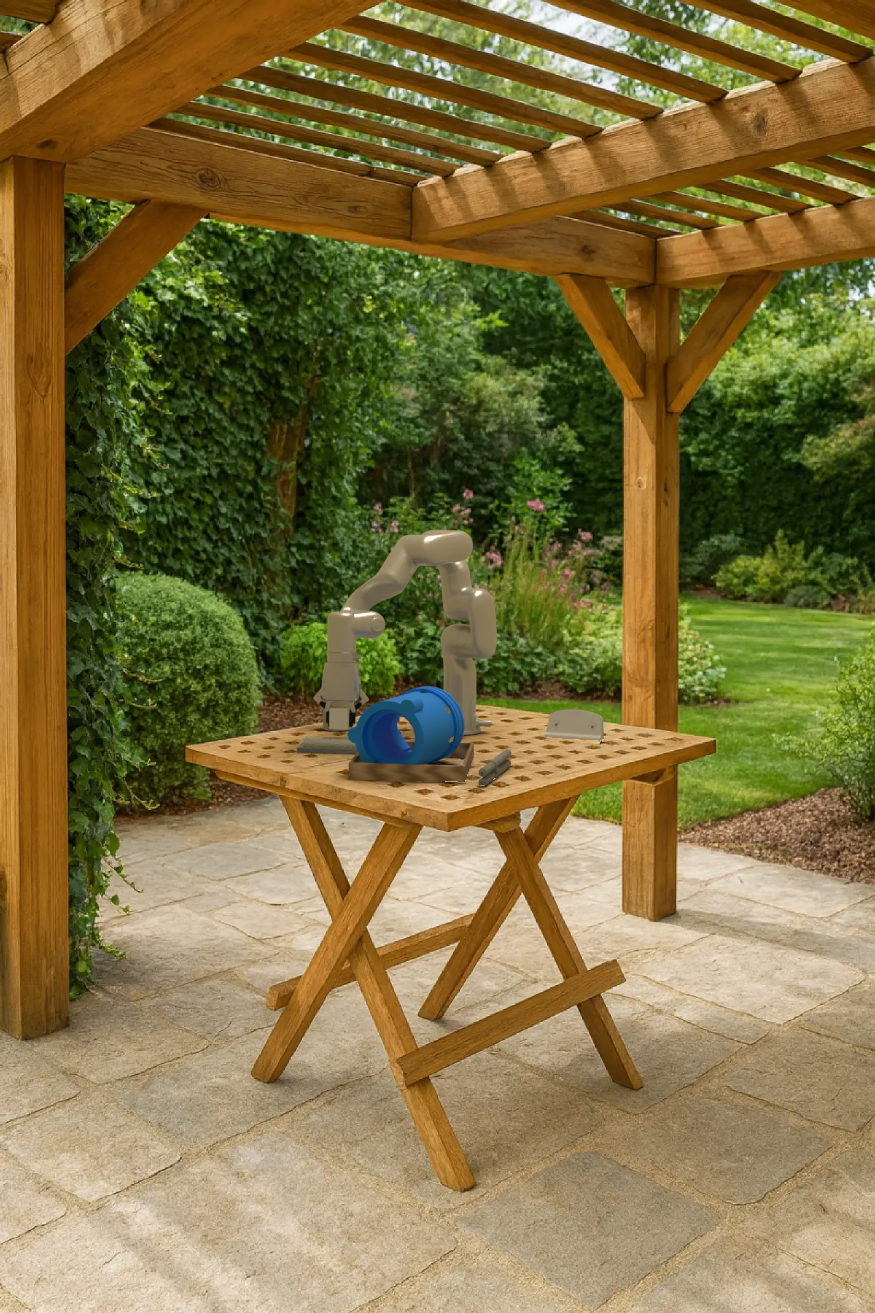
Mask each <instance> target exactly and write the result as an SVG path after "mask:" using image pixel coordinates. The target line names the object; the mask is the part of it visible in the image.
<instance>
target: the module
mask: <svg viewBox="0 0 875 1313" xmlns="http://www.w3.org/2000/svg"><path fill="white" fill-rule="evenodd" d="M350 710H351V709H350V706H342V705H333V706H332V707H331V708H330V709H329V729H346V730H347V731H349V730H348V726H349V713H350Z"/></svg>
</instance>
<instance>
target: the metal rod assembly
mask: <svg viewBox="0 0 875 1313" xmlns="http://www.w3.org/2000/svg"><path fill="white" fill-rule="evenodd" d="M511 756H512V751H511V749H509V748H507V749H504V750H503V751H501V753H499V754H498V755H497V756H495V757H494V758H492V759H489V760H488V761H487V762H486V764H485V765H484V766H483V767H480V768H479V769H478V775H479V776H480V777H481V778H479V780H478V781H477V782H478V783H477V784H478V786H479V785H486V786H488V785H489V784H490V783H491V782H492V781H494V780H493V779H494V778H497V779H498V777H499V776H500V775H501V774H502V773H504V772H505V771H506V770H508V768H510V767H511V766H512V761H511V760H510V757H511ZM509 766H510V767H509ZM503 771H504V772H503ZM499 774H500V775H499ZM498 775H499V776H498ZM489 782H490V783H489Z"/></svg>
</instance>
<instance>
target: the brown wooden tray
mask: <svg viewBox="0 0 875 1313" xmlns="http://www.w3.org/2000/svg"><path fill="white" fill-rule="evenodd" d="M405 741H406V743H407V744H408V745H409V746H410V747H411V748H410V749H409V750H410V751H412V749H413V747H414V743H415V740H405ZM474 755H475V742H464V741H463V742H462V741H461V743H460V745H459V746H458V748H457V749H456V750H455V751H454V752H453V753H452V754H451V755H449V756H448V757H446V758H449V759H464V760H463V761H462V765H447V764H446V765H445V764H424V765H419V764H416V765H413V764H387V763H364V762H363V760H362V759H361V757H360V755H359V753H357V754H354V756H353V757H352V759H350V761H349V762H348V780H350V781H375V782H378V781H379V782H381V781H385V782H406V781H407V782H411V783H412V782H413V783H415V782H416V783H419V782H418V781H422V782H421V783H437V782H445V781H458V782H465V780H466V781H467V779H466V777H467V778H468V776H467V774H468V775H469V773H470V770H469V769H471V767H472V764H473V762H472V761H474V759H473V758H474V757H475V756H474ZM446 758H445V759H446ZM471 763H472V764H471ZM470 766H471V767H470ZM468 772H469V773H468ZM465 783H466V782H465Z"/></svg>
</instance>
